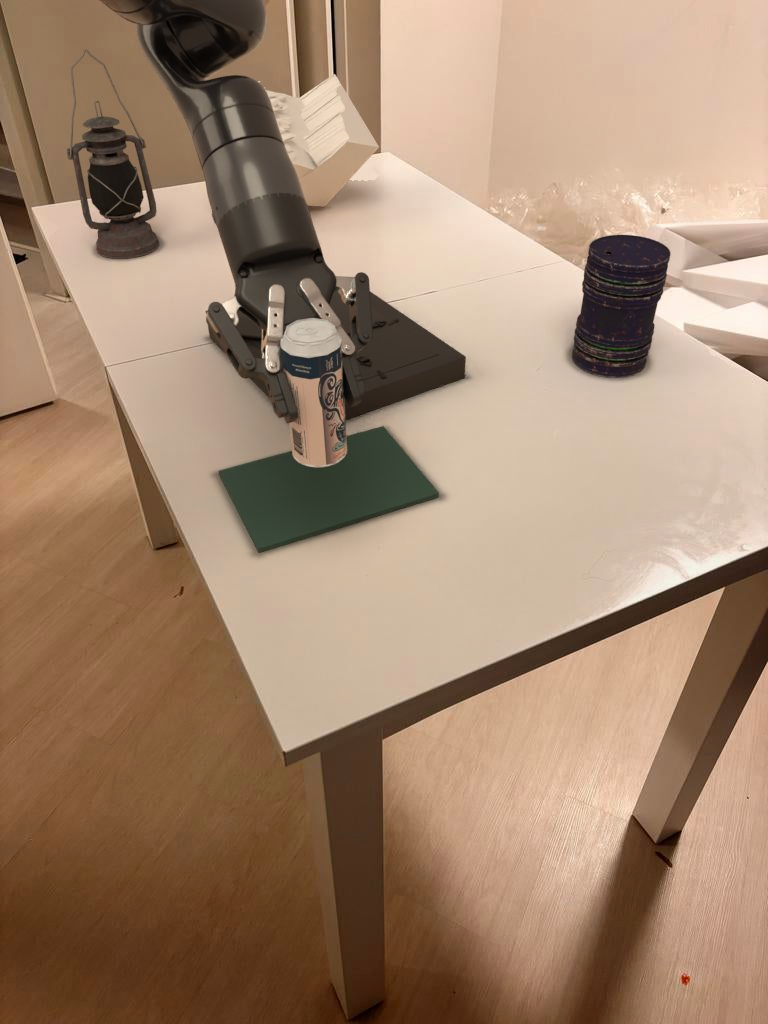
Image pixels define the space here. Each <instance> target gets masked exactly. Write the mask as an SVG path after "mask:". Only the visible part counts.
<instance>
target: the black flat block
mask: <svg viewBox="0 0 768 1024" xmlns="http://www.w3.org/2000/svg"><path fill="white" fill-rule="evenodd" d="M370 301H371V315H372V330H373V339H372V340H371V342H370V343H368V344H367V346H366V347H365V349H364V350H363V351H361V352H358V353H357V354H356V360H357V363H358V366H359V369H360V372H361V376H362V379H363V382H364V385H365V393H364V394H363V395H362V396H361V402H360V403H359V404H358V405H357V406H353V407H348V406H347V404H346V401H345V398H344V404H345V421H347V420H350V419H353V418H355V417H358V416H362V415H364V414H367V413H370V412H372V411H373V412H374V411H376V410H378V409H381V408H384V407H386V406H389V405H392V404H395V403H397V402H400V401H403V400H406V399H409V398H412V397H414V396H417V395H421V394H423V393H425V392H428V391H431V390H434V389H436V388H439V387H442V386H446V385H448V384H450V383H453V382H457V381H459V380H462V379H464V378H465V377H466V362H467V361H466V360H467V356H466V355H464V354H463V353H461V352H460V351H458V350H457V349H455V348H454V347H452V346H451V345H449V344H448V343H447V342H445V341H444V340H443V339H441V338H439V337H438V336H436V335H435V334H434V333H432V332H430V331H429V330H428V329H426V328H425V327H424V326H422V325H420V324H419V323H417V322H416V321H414V320H413V319H411V318H410V317H408V316H407V315H406V314H405V313H402V312H401V311H400V310H399V309H397V308H395V307H394V306H393V305H391V304H389V303H388V302H386V301H385V300H384V299H382V298H381V297H380V296H378V295H376V294H375V293H374V292H372V291H370ZM329 306H330V307H331V309H332V310H333V311H334V313H335V314H336V316H337V317H338V318H339V320H340V322H341V326H342V328H343V329H344V331H345V332H346V334H347V335H348V336H349V338H351V331H350V316H349V305H347V304H345V303H344V302H343V301H342V298H341V295H340V294H339V293H338V292H337V291H334V293H333V296H332V299H331V302H330V305H329ZM207 312H208V309H207V310H205V314H206V315H207ZM237 315H238V318H239V322H238V325H237V327H236V328H237V329H238V331H239V333H240V334H241V336H242V338H243V339H244V341H245V343H246V344H247V346H248V347H249V349H250V351H251V352H252V354H253V356H254V357H255V358H262V352H261V343H262V328H260V327H259V326H258V325H257V324H255V323H254V322H253V321H252V320H250V319H249V318H248V317H247V316H245V315H244V314H243V313H242V312H240V311H238V312H237ZM326 316H327V315H326ZM207 328H208V334H209V339H210V340H211V341H212V342H213V343H214V345H216V346H217V347H218V348H219V349H220V350H221V351H222V352H223V353H224V354H225V355H226V353H225V352H224V350H223V348H222V347H221V345H220V343H219V342H218V340H217V339H216V337H215V335H214V334H213V332H212V330H211V329H210V327H209V326H208V325H207ZM281 371H282V372H284V371H283V362H282V352H281ZM248 379H250V380H251V381H252V382H253V383H254V384H255V385H256V386H257V387H258V388H259V389H260V391H262V392H263V393H264V394H265V395H266V396H267V397H268V398H269V399H270V396H269V393H268V390H267V386H266V384H265V382H264V381H263V380H262V379H260V378H254V377H249V378H248Z"/></svg>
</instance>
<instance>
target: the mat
mask: <svg viewBox="0 0 768 1024" xmlns="http://www.w3.org/2000/svg"><path fill="white" fill-rule="evenodd" d="M346 442H347V454H346V455H345V457H344V458H343V459H342V460H341V461H339V462H338V463H336V464H334V465H330V466H327V467H319V468H316V467H309V466H306V465H302V464H301V463H299V462H298V461H297V460H296V459H295V458H294V457H293V455H292V450H290V451H286V452H282V453H277V454H275V455H271V456H268V457H264V458H260V459H257V460H253V461H250V462H245V463H242V464H238V465H234V466H231V467H227V468H223V469H219V470H218V476H219V478H220V480H221V482H222V483H223V486H224V488H225V490H226V491H227V493H228V495H229V497H230V500H231V502H232V503H233V505H234V507H235V510H236V511H237V513H238V515H239V517H240V519H241V521H242V523H243V525H244V527H245V529H246V531H247V533H248V535H249V537H250V539H251V541H252V543H253V545H254V546H255V549H256V551H257V553H262V552H266V551H269V550H273V549H276V548H279V547H282V546H286V545H288V544H292V543H294V542H298V541H302V540H304V539H308V538H311V537H314V536H317V535H321V534H324V533H327V532H330V531H333V530H338V529H340V528H343V527H346V526H350V525H353V524H357V523H359V522H363V521H366V520H370V519H373V518H376V517H378V516H382V515H385V514H389V513H393V512H395V511H399V510H402V509H405V508H408V507H411V506H415V505H418V504H421V503H424V502H428V501H430V500H434V499H437V498H440V491H438V489H436V487H435V486H434V485H433V484H432V483H431V481H430V480H429V479H428V478H427V477H426V475H425V474H424V472H422V470H420V468H419V467H418V466H417V465H416V464H415V462H414V461H413V460H412V459H411V457H410V456H409V454H407V453H406V451H405V450H404V449H403V448H402V447H401V445H400V444H399V443H398V442H397V441H396V439H395V438H394V437H393V436H392V434H390V433H389V431H388V430H387V429H386V428H385V426H384V425H382V426H379V427H374V428H371V429H368V430H363V431H360V432H357V433H352V434H348V435H346Z"/></svg>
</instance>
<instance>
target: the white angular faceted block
mask: <svg viewBox="0 0 768 1024" xmlns="http://www.w3.org/2000/svg"><path fill="white" fill-rule="evenodd" d="M257 81H258V80H257ZM258 82H259V83H261V80H259V81H258ZM341 83H342V82H341V81H340V80H339V78H338V76H337V75H336V74H335V73H333V74H332V75H330V76H329V77H327V78H326V79H324V80H323V81H321V82H320V83H319V84H317V85H316V86H314V87H313V88H311V89H310V90H308V91H307V92H306V93H304V94H303V95H302V96H300V97H297V96H293V95H289V94H287V93H283V92H282V93H281V92H277V91H272V90H271V89H270V90H267V89H266V86H265V87H264V86H263V87H264V89H265V90H266V92H267V94H268V96H269V98H270V101H271V104H272V107H273V110H274V113H275V116H276V120H277V123H278V126H279V129H280V132H281V135H282V139H283V142H284V145H285V148H286V150H287V153H288V155H289V157H290V160H291V162H292V164H293V166H294V168H295V170H296V172H297V175H298V178H299V181H300V184H301V187H302V190H303V194H304V197H305V200H306V203H307V206H308V207H309V206H311V207H326V206H327V205H328V204H329V203H330V202H331V201H332V199H333V198H334V197H336V195H337V194H338V193H339V192H340V191H341V190H342V189H343V188H344V186H345V185H347V183H348V182H349V181H350V180H351V179H352V178H353V177H354V176H355V175H356V173H357V172H358V171H359V170H360V169H361V168H362V167H363V166H364V164H366V163H367V161H369V159H370V158H371V157H372V156H373V155H374V154H375V152H377V151H378V149H379V148H380V146H379V144H378V142H377V141H376V140H375V138H374V136H373V134H372V133H371V131H370V129H369V128H368V126H367V125H366V123H365V122H364V120H363V118H362V117H361V115H360V113H359V111H358V109H357V108H356V107H355V105H354V103H353V101H352V100H351V98H350V96H349V95H348V93H347V91H346V90H345V88H344V86H343V85H342V84H341Z"/></svg>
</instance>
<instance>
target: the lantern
mask: <svg viewBox="0 0 768 1024" xmlns="http://www.w3.org/2000/svg"><path fill="white" fill-rule="evenodd" d="M86 53H87V54H88V55H89V57H91V59H94V60H95V61H96V62H97V63H99V64H101V65H102V66H103V69H104V71H105V73H106V76H107V78H108V80H109V82H110V84H111V86H112V89H113V91H114V93H115V95H116V97H117V100H118V102H119V104H120V105H121V107H122V108H123V110H124V112H125V113H126V115H127V117H128V119H129V121H130V123H131V125H132V127H133V129H134V131H135V133H136V135H137V136H135V135H133V134H129V135H128V134H127V133H126V130H123V129H120V128H115V126H118V125H119V124H120V123H121V122H120V119H117V118H116V117H112V116H103V111H102V107H101V103H100V100H95V101H94V102H93V104H94V109H95V114H96V116H95V117H92V118H89V119H87V120H85V121H84V122H83V123H82V127H84V128H87V129H90V130H87V132H84V133H83V134H82V135H81V139H82V140H83V141H81V142H77V143H75V144H73V137H74V119H75V113H76V105H77V97H76V88H75V81H74V71H73V69H74V68H75V67H76V65H77V64H78V63H79V62H80V61H81V60H82V59H83V58H84V57H85V54H86ZM70 77H71V78H70V79H71V86H72V87H71V88H72V95H73V96H72V97H73V107H72V113H71V121H70V122H71V123H70V145H69V147H67V148H66V156H67V159H68V160H69V161H72V162H73V167H74V173H75V178H76V183H77V189H78V195H79V200H80V206H81V210H82V211H81V212H82V215H83V218H84V221H85V223H86V225H87V226H88V227H89V228H90V229H91V230H92V229H93V230H97V239H96V242H95V245H96V248H95V250H96V253H97V254H98V255H100V256H102V257H104V258H108V259H114V260H115V259H116V260H124V259H132V258H134V259H135V258H139V257H142V256H146V255H148V254H151V253H153V252H155V251H156V250H157V249H159V247H160V240H159V239H158V236H157V233H156V232H154V230H153V227H152V226H151V224H150V223H149V222H148V221H150V220H152V219H153V218H155V217H156V215H157V213H158V212H157V211H158V210H157V202H156V198H155V194H154V191H153V187H152V183H151V178H150V174H149V171H148V166H147V163H146V159H145V155H144V151H143V150H144V149H146V148H147V145H146V141H145V139H144V138H143V137H142V136H141V135H140V133H139V132H138V130H137V128H136V125H135V124H134V121H133V119H132V117H131V115H130V113H129V111H128V109H127V108H126V107H125V105H124V103H123V102H122V100H121V98H120V96H119V93H118V92H117V89H116V86H115V85H114V83H113V80H112V78H111V76H110V73H109V71H108V68H107V67H106V65H105V63H104V62H102V61H101V60H100V59H98V58H97V57H96V56H94V55H93V54H92V53H91V52H90V51H89V50H88V49H84V50H83V51H82V54H81V55H80V57H78V59H77V60H75V62H74V63H73V64H72V65H71V67H70ZM97 103H98V108H99V113H100V116H99V114H98V108H97ZM127 142H130V143H133V144H134V148H135V151H136V156H137V160H138V164H139V168H140V172H141V176H142V180H143V185H144V188H145V193H146V197H147V201H148V207H149V210H147V212H145V213H143V214H141V215H139V216H136V215H137V214H138V213H139V214H140V213H141V212H142V211H141V210H142V207H141V205H142V203H143V200H144V192H143V186H142V183H141V180H140V177H139V174H138V168H137V167H136V166H134V165H133V164H132V162H131V160H130V156H129V154H127V153H125V152H124V150H125V149H126V148H127V147H128V146H127ZM83 149H86V151H87V152H89V153H90V154H91V155H92V156H90V157H89V158H88V161H89V169H87V171H86V173H87V183H88V191H89V196H90V200H91V204H92V205H93V206H94V207H95V208H96V210H98V211H99V215H100V216H102V217H103V218H104V219H106V220H109V222H97V221H93V219H92V216H91V211H90V207H89V206H90V205H89V202H88V195H87V191H86V186H85V181H84V176H83V170H82V166H81V160H80V153H79V152H80V151H82V150H83Z"/></svg>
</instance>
